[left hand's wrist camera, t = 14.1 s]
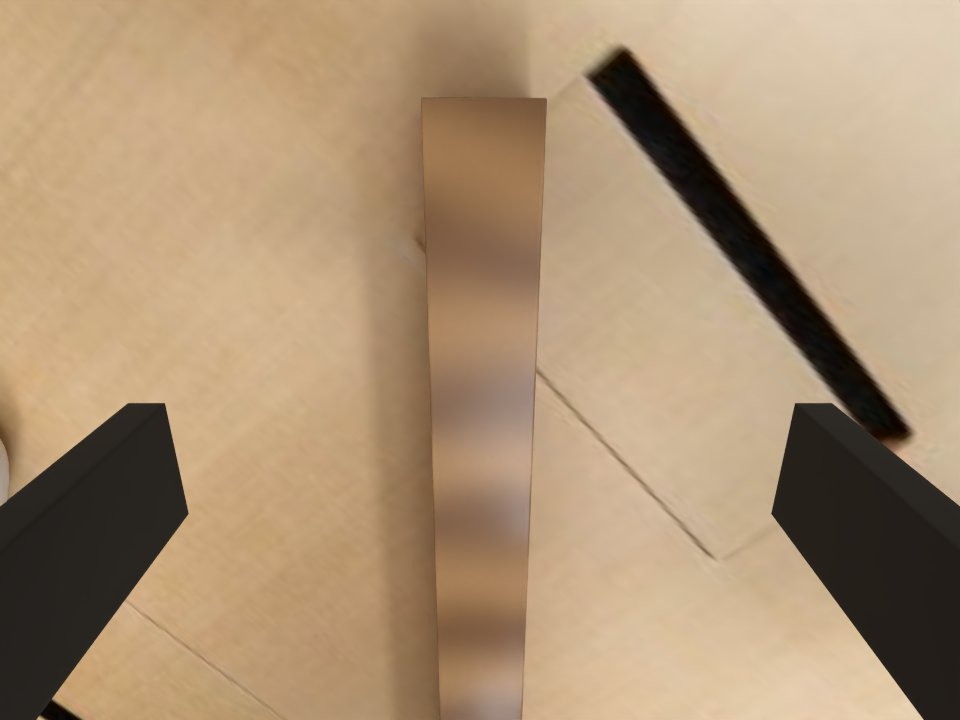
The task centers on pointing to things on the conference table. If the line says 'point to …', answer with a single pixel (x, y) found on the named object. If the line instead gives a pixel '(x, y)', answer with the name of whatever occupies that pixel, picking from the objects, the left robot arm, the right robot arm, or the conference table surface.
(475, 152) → the beam
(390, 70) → the conference table surface
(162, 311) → the conference table surface
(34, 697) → the left robot arm
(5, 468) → the projector
